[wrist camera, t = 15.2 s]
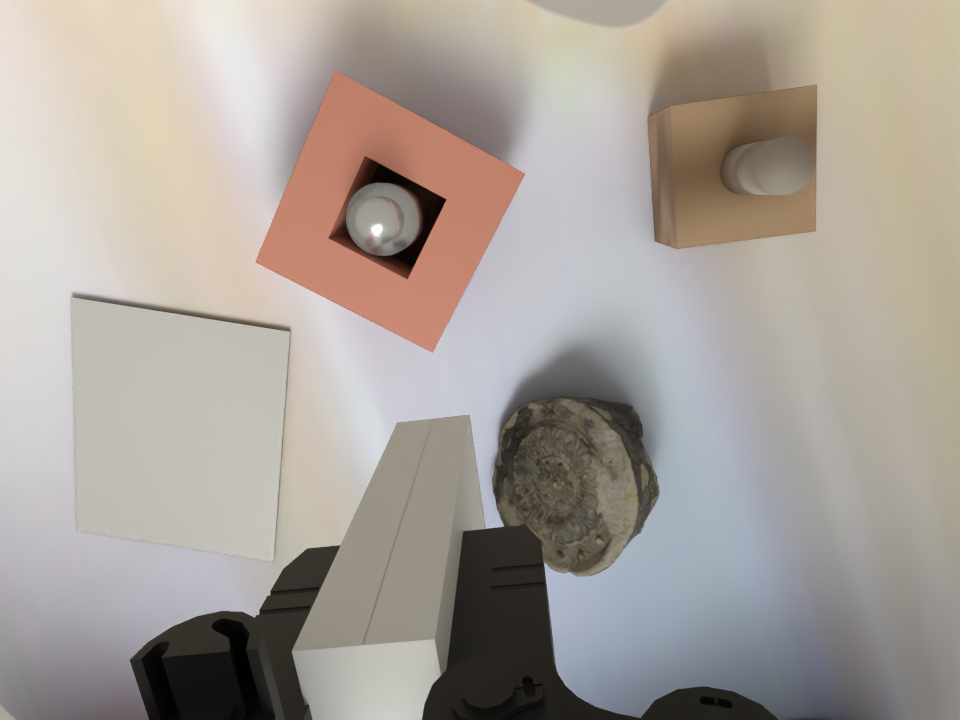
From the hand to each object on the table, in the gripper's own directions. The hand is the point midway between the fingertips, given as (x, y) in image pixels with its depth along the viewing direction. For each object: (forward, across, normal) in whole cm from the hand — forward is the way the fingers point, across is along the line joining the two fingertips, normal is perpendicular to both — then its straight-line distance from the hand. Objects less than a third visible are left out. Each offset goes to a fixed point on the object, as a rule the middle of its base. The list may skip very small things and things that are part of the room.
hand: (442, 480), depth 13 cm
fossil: (+27, -4, +12) cm, 30 cm away
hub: (+26, +4, -5) cm, 27 cm away
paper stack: (+27, +25, +2) cm, 37 cm away
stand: (+26, -14, -5) cm, 30 cm away
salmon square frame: (+23, +4, -5) cm, 24 cm away
